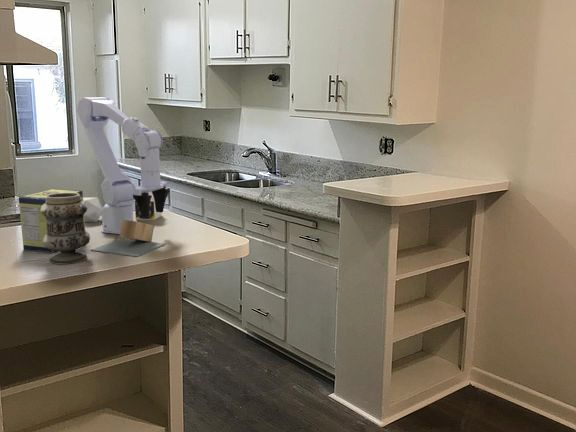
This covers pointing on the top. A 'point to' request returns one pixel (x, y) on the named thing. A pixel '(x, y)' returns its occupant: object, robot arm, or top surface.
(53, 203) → the apothecary jar
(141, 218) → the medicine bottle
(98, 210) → the die
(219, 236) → the top surface
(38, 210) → the protein box
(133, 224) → the oak block
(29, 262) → the top surface
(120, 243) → the slate mat
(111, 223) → the robot arm
